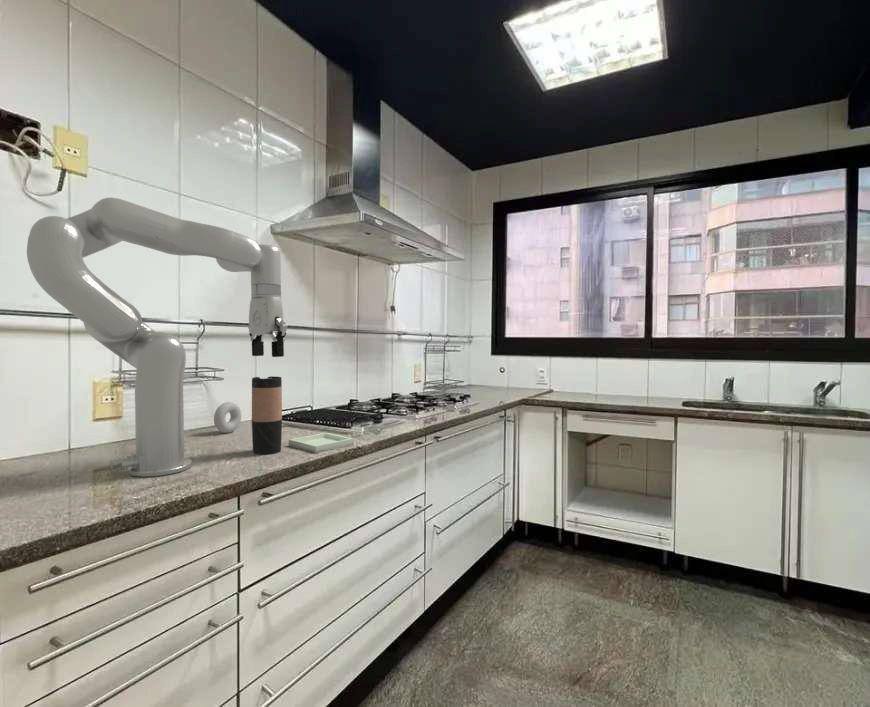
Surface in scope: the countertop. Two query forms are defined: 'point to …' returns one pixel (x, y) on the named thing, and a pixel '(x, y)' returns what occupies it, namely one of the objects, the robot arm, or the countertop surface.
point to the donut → (221, 414)
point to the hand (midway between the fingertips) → (267, 356)
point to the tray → (320, 442)
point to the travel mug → (266, 415)
